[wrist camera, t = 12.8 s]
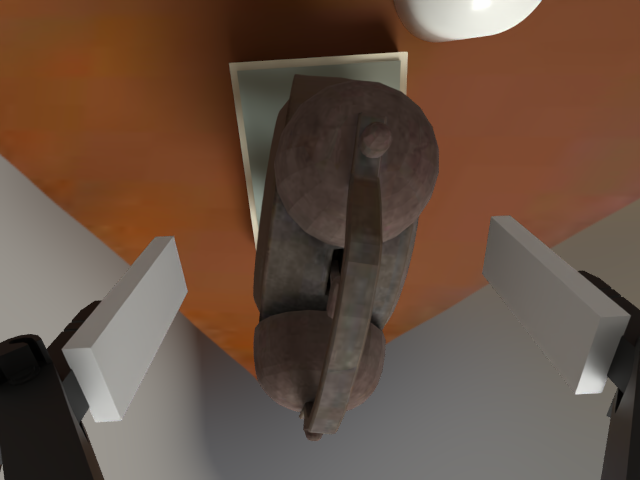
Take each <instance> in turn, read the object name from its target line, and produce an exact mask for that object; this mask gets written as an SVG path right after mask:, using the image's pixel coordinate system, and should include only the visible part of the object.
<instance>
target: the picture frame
mask: <svg viewBox="0 0 640 480" xmlns="http://www.w3.org/2000/svg"><path fill="white" fill-rule="evenodd" d="M407 58H408V52H395V53H379V54H364V55H348V56H332V57H316V58H301V59H285V60H269V61H253V62H238V63H229V67H230V74H231V81H232V88H233V95H234V102H235V109H236V116H237V122H238V129H239V136H240V143H241V150H242V157H243V164H244V171H245V178H246V185H247V192H248V199H249V206H250V212H251V219H252V226H253V233H254V240H255V247H256V249H257V240H258V231H259V223H260V215H261V207H262V200H263V193H264V186H265V179H266V173H267V167H268V161H269V155H270V149H271V143H272V138H273V133H274V128H275V124H276V120H277V116H278V113H279V111H280V110H281V108H282V107H283V106H284V105H285V103H286V102H287V101H288V100H289V97H290V92H291V87H292V82H293V78H294V75H295V74H300V75H307V76H325V77H341V78H347V79H352V80H361V81H372V82H380V83H382V84H384V85H387V86H389V87H392V88H394V89H396V90H399V91H401V92H403V93H404V94H405V95H406V85H407Z"/></svg>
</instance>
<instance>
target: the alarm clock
mask: <svg viewBox="0 0 640 480" xmlns="http://www.w3.org/2000/svg"><path fill="white" fill-rule="evenodd" d="M438 173H439V149H438V145H437V141H436V138H435V135H434V131H433V128H432V126H431V124H430V122H429V121H428V119H427V118H426V116H425V115H424V113H423V111H422V110H421V108H420V107H419V106H418V105H417V104H415V103H414V102H413V101H412V100H411V99H410V98H408V97H407V96H406V95H405V94H404V93H403V92H401V91H399V90H396V89H394V88H392V87H389V86H387V85H384V84H382V83H380V82H372V81H361V80H352V79H347V78H341V77H325V76H307V75H300V74H295V75H294V78H293V82H292V87H291V92H290V97H289V100H288V101H287V102H286V103H285V105H284V106H283V107H282V108H281V110H280V111H279V113H278V116H277V120H276V124H275V128H274V133H273V138H272V143H271V149H270V155H269V161H268V167H267V173H266V179H265V186H264V193H263V200H262V207H261V215H260V223H259V231H258V240H257V249H256V259H255V271H254V293H253V296H254V300H255V303H256V305H257V307H258V310H259V312H260V318H259V324H258V325H257V326H256V328H255V333H254V362H255V370H256V375H257V379H258V382H259V384H260V386H261V387H262V389H263V390H264V391H265V393H266V394H267V395H269V396H270V397H271V398H272V399H273V400H274V401H275V402H277V403H278V404H280V405H281V406H284V407H286V408H288V409H291V410H294V411H297V412H301V414H300V415H299V417H300V419H304V429H303V430H304V431H305V434H306V437H307V438H308V440H311V441H318V440H320V439H321V437H322V435H323V434H334V433H336V432H337V430H338V428H339V426H340V423H341V421H342V418H343V417H344V414H345V412H346V411H348V410H351V409H353V408H355V407H357V406H358V405H360V404H362V403H363V402H364V401H365V400H366V399H367V398H368V397H369V396H370V395H371V394H372V393H373V391H374V390H375V388H376V386H377V385H378V382H379V379H380V376H381V373H382V370H383V362H384V357H385V341H386V340H385V337H384V334H383V331H382V330H383V328H384V326H385V324H386V323H387V322H388V320H389V319H390V317H391V315H392V313H393V311H394V309H395V307H396V304H397V302H398V300H399V297H400V294H401V291H402V288H403V285H404V282H405V279H406V276H407V272H408V268H409V264H410V260H411V256H412V252H413V248H414V242H415V237H416V231H417V226H418V218H419V215H420V214H421V212H422V211H423V209H424V208H425V206H426V205H427V203H428V202H429V200H430V198H431V196H432V193H433V190H434V186H435V183H436V180H437V176H438Z"/></svg>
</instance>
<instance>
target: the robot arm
mask: <svg viewBox="0 0 640 480" xmlns="http://www.w3.org/2000/svg"><path fill="white" fill-rule="evenodd" d="M482 274H483V275H484V277H485V278H486V279H487V281H488V282H489V283H490V284H491V286H492V287H493V288H494V289H495V291H496V292H497V294H498V295H499V296H500V297H501V299H502V300H503V301H504V303H505V304H506V305H507V307H508V308H509V309H510V310H511V312H512V313H513V314H514V316H515V317H516V318H517V320H518V321H519V322H520V323H521V325H522V326H523V327H524V329H525V330H526V331H527V333H528V334H529V335H530V336H531V338H532V339H533V340H534V342H535V343H536V344H537V346H538V347H539V348H540V349H541V351H542V352H543V353H544V354H545V356H546V357H547V359H548V360H549V361H550V362H551V364H552V365H553V366H554V368H555V369H556V370H557V372H558V373H559V374H560V375H561V377H562V378H563V379H564V381H565V382H566V383H567V385H568V386H569V387H570V388H571V390H572V391H573V392H574V394H589V393H602V391H603V388H604V385H605V383H606V380H607V378H608V377H609V378H610V379H611V381H612V382H613V383H614V384H615V385H616V386H617V387H618V388H617V391H616V393H615V396H614V398H613V401H612V403H611V406H610V408H609V411H608V413H607V416H608V417H610V418H611V419H610V425H609V432H608V438H607V444H606V450H605V456H604V463H603V470H602V475H601V480H640V310H639V309H638V308H637V307H635V306H634V305H632V304H631V303H630V302H629V301H628V300H626V299H625V298H624V297H621V295H620V294H619V293H617V292H616V291H615V290H613V289H611V287H610V286H609V285H607V284H606V283H605V282H604V281H602V280H601V279H600V278H597V277H596V276H593V275H591V274H589V273H587V272H585V271H576V270H575V269H574V268H573V267H571V266H570V265H569V264H568V263H566V262H565V261H564V260H563V259H562V258H560V257H559V256H558V255H557V254H556V253H554V252H553V251H552V250H551V249H550V248H549V247H547V246H546V245H545V244H544V243H542V242H541V241H540V240H539V239H538V238H536V237H535V236H534V235H533V234H532V233H530V232H529V231H528V230H527V229H526V228H524V227H523V226H522V225H521V224H520V223H518V222H517V221H516V220H515V219H513V218H512V217H511V216H510V215H509V216H493V217H491V221H490V227H489V234H488V240H487V247H486V253H485V260H484V266H483V273H482ZM187 292H188V291H187V287H186V283H185V279H184V275H183V271H182V267H181V263H180V259H179V255H178V251H177V247H176V243H175V239H174V236H164V237H155V238H154V239H153V240H152V241H151V243H150V244H149V245H148V246H147V247H146V249H145V250H144V251H143V252H142V253H141V255H140V256H139V257H138V258H137V259H136V261H135V262H134V263H133V264H132V265H131V267H130V268H129V269H128V270H127V271H126V273H125V274H124V275H123V276H122V277H121V279H120V280H119V281H118V282H117V283H116V285H115V286H114V287H113V288H112V290H111V291H110V292H109V293H108V294H107V295H106V297H105V298H104V299H103V300H102V301H94V302H93V303H91V304H90V305H88V306H87V307H85V308H84V309H82V310H81V311H80V312H79V313H78V314H77V315H76V316H75V318H74V319H73V320H72V323H69V324H68V325H67V327H66V328H65V329H64V332H61V333H60V334H59V336H58V337H57V338H56V339H55V340H54V341H53V342H52V343H51V345H50V346H49V347H48V348H47V349H46V347H45V345H44V343H43V341H42V339H41V338H40V337H39V336H38V335H33V334H27V335H20V336H17V337H14V338H10V339H7V340H6V341H3V342H1V343H0V470H1V466H2V464H3V471H4V479H5V480H104V478H103V475H102V472H101V470H100V467H99V464H98V462H97V459H96V456H95V454H94V451H93V448H92V446H91V443H90V440H89V438H88V435H87V432H86V430H85V427H84V425H83V423H82V421H81V420H82V418H83V417H84V415H85V413H86V412H87V410H88V409H89V410H90V412H91V414H92V416H93V418H94V420H95V422H109V421H122V419H123V417H124V415H125V413H126V411H127V409H128V407H129V405H130V403H131V402H132V400H133V398H134V396H135V394H136V392H137V390H138V388H139V386H140V384H141V382H142V380H143V378H144V376H145V374H146V372H147V370H148V368H149V366H150V364H151V362H152V360H153V358H154V356H155V355H156V353H157V351H158V348H159V347H160V345H161V343H162V341H163V339H164V337H165V335H166V333H167V331H168V329H169V327H170V325H171V323H172V321H173V319H174V317H175V315H176V313H177V311H178V310H179V308H180V306H181V304H182V302H183V300H184V298H185V296H186V294H187Z"/></svg>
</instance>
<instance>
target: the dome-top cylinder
mask: <svg viewBox="0 0 640 480" xmlns="http://www.w3.org/2000/svg"><path fill="white" fill-rule="evenodd" d="M541 1H542V0H394V5H395V8H396V12H397V14H398V17H399V19H400V20H401V22H402V24H403V25H404V26H405V28H406V29H407V30H408V31H409V32H410V33H411V34H413V35H414V36H416V37H418V38H420V39H422V40H425V41H428V42H446V41H453V40H460V39H467V38H474V37H481V36H489V35H494V34H497V33H501V32H503V31H506V30H508V29H510V28H512V27H513V26H515V25H517V24H518V23H520V22H521V21H522V20H524V19H525V18H526V17H527V16H528V15H529V14H530V13H531V12H532V11H533V10H534V9H535V8H536V7H537V6H538V5H539V3H540V2H541Z"/></svg>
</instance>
